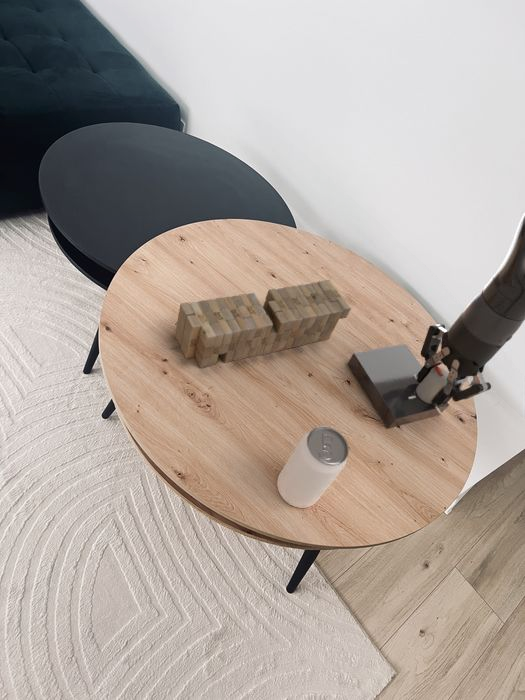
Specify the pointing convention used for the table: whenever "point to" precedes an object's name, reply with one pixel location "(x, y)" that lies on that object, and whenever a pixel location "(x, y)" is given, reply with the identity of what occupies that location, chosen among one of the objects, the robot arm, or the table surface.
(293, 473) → the can
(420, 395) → the knob
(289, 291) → the block tower
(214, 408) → the table surface
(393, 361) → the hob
